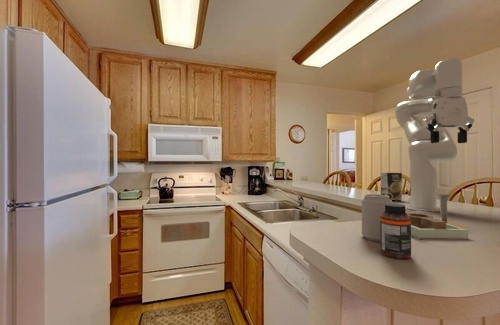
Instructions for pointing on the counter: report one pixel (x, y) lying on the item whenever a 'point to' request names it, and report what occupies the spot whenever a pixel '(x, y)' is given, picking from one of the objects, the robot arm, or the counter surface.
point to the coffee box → (391, 185)
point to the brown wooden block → (426, 221)
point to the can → (373, 215)
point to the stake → (444, 211)
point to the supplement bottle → (395, 231)
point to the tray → (440, 232)
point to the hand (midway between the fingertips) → (448, 142)
